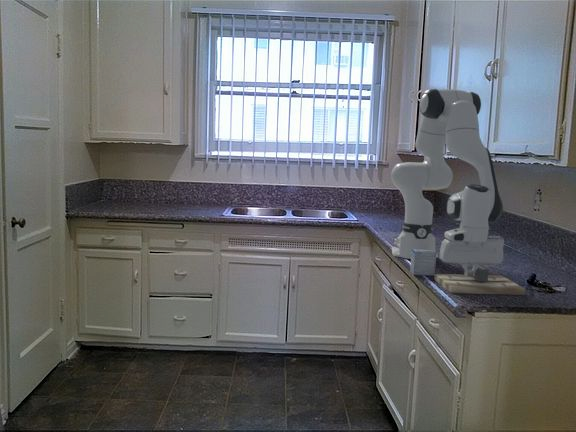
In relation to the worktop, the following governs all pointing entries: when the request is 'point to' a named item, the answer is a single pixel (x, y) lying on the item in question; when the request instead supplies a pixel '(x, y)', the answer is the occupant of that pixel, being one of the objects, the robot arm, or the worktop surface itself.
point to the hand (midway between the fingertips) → (469, 275)
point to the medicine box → (423, 262)
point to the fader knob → (481, 274)
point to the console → (478, 284)
